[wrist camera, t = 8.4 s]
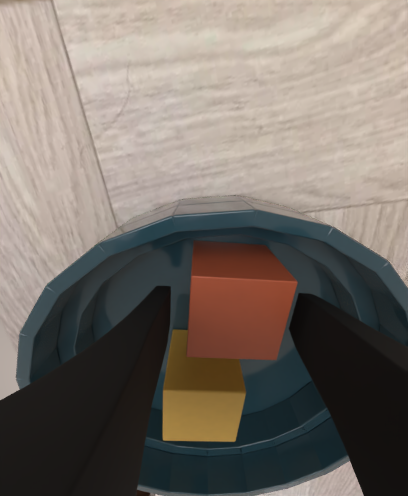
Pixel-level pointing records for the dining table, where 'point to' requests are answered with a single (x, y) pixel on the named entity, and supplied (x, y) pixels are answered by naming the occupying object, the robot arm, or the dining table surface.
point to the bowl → (254, 371)
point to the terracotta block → (237, 301)
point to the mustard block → (201, 395)
